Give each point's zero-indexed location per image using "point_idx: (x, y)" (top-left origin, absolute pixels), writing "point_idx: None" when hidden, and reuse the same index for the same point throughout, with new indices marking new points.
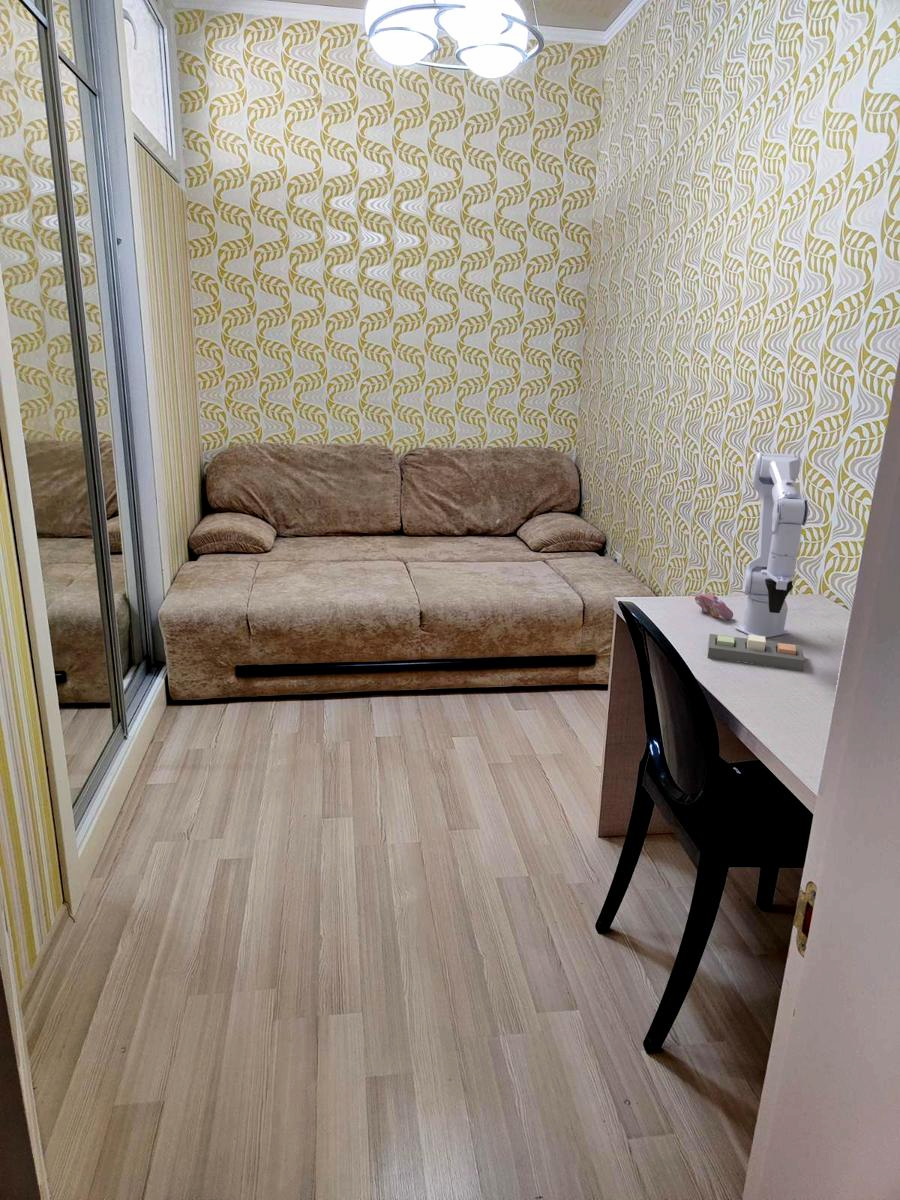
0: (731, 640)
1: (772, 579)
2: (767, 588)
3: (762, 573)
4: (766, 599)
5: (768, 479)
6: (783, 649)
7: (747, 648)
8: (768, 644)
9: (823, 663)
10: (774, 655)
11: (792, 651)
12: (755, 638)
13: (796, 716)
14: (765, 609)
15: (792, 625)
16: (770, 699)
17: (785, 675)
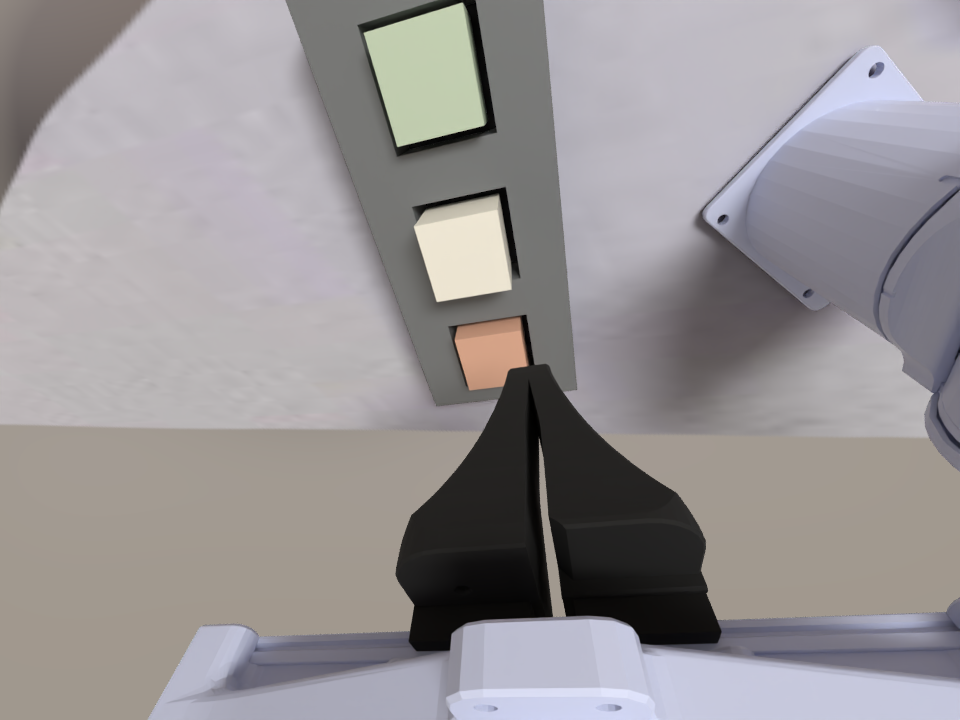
0: (423, 122)
1: (293, 683)
2: (426, 502)
3: (452, 656)
4: (913, 296)
5: None
6: (459, 353)
7: (422, 214)
8: (527, 288)
9: None
10: (414, 323)
11: (466, 377)
12: (459, 253)
13: (135, 389)
14: (839, 271)
15: None
16: (163, 328)
17: (370, 344)
